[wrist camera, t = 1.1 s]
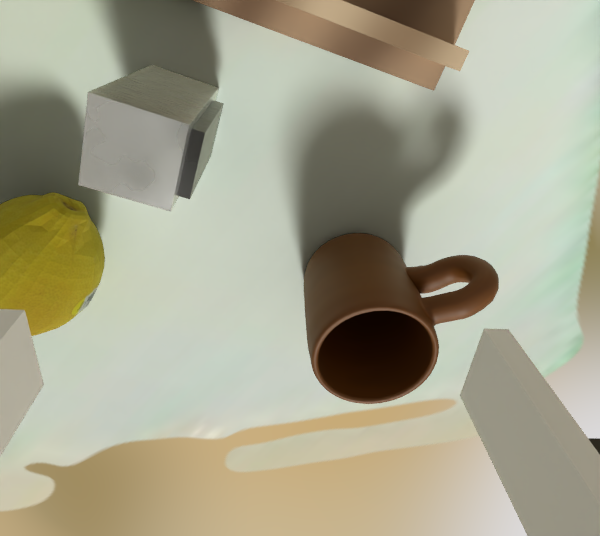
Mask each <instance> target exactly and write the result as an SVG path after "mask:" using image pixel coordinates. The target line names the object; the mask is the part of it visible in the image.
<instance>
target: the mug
mask: <svg viewBox="0 0 600 536" xmlns="http://www.w3.org/2000/svg"><path fill="white" fill-rule="evenodd" d="M456 282H467V283H469V284H468V285H467V286H465V287H464V288H462V289H459V290H457V291H453V292H448V293H444V294H440V295H435V296H431V297H425V298H422V297H421V295H420V293H429V292H433V291H436V290H439V289H441V288H443V287H445V286H448V285H450V284H453V283H456ZM498 283H499V279H498V275H497V273H496V271H495V269H494V268H493V267H492V266H491V265H490V264H489V263H488V262H486V261H485V260H482V259H480V258H477V257H475V256H469V255H457V256H451V257H447V258H444V259H441V260H438V261H436V262H434V263H432V264H429V265H426V266H418V267H406V265H405V263H404V261H403V259H402V257H401V256H400V254H399V253H398V252H397V250H396V249H395V248H394V247H393V246H392V245H390V244H389V243H388V242H387V241H385V240H383V239H381V238H379V237H377V236H374V235H370V234H364V233H352V234H346V235H342V236H339V237H336V238H334V239H332V240H330V241H328V242H326V243H325V244H323V245H322V246H321V247H320V248H319V249H318V250H317V251H316V252H315V253H314V254H313V256H312V257H311V259H310V261H309V262H308V265H307V268H306V271H305V275H304V298H305V317H306V330H307V341H308V349H309V354H310V358H311V364H312V368H313V371H314V374H315V376H316V378H317V379H318V381H319V382H320V383H321V384H322V386H323V387H324V388H325V389H326V390H328V391H329V392H330V393H332V394H333V395H335V396H337V397H339V398H341V399H344V400H347V401H350V402H355V403H364V404H374V403H382V402H387V401H391V400H394V399H397V398H400V397H402V396H404V395H406V394H408V393H410V392H412V391H413V390H415V389H416V388H417V387H419V386H420V385H421V384H422V383H423V382H424V381H425V380H426V379H427V378H428V376H429V375H430V374H431V372H432V370H433V369H434V367H435V364H436V362H437V357H438V352H439V344H438V338H437V335H436V331H435V329H434V326H435V324H439V323H443V322H449V321H454V320H459V319H464V318H467V317H470V316H472V315H474V314H476V313H477V312H479V311H481V310H482V309H484V308H485V307H486V306H487V305H488V304H490V303H491V302H492V301H493V299H494V297H495V295H496V293H497V291H498Z"/></svg>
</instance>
